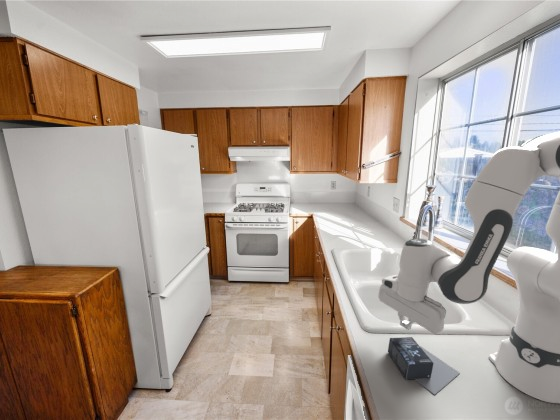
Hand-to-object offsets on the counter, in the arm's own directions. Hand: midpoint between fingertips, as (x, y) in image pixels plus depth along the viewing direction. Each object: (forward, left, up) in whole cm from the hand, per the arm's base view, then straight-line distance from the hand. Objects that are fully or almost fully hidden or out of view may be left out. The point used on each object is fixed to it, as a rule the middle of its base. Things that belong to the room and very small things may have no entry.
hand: (405, 326), depth 79 cm
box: (+1, -1, -6) cm, 6 cm away
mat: (-1, +8, -10) cm, 13 cm away
